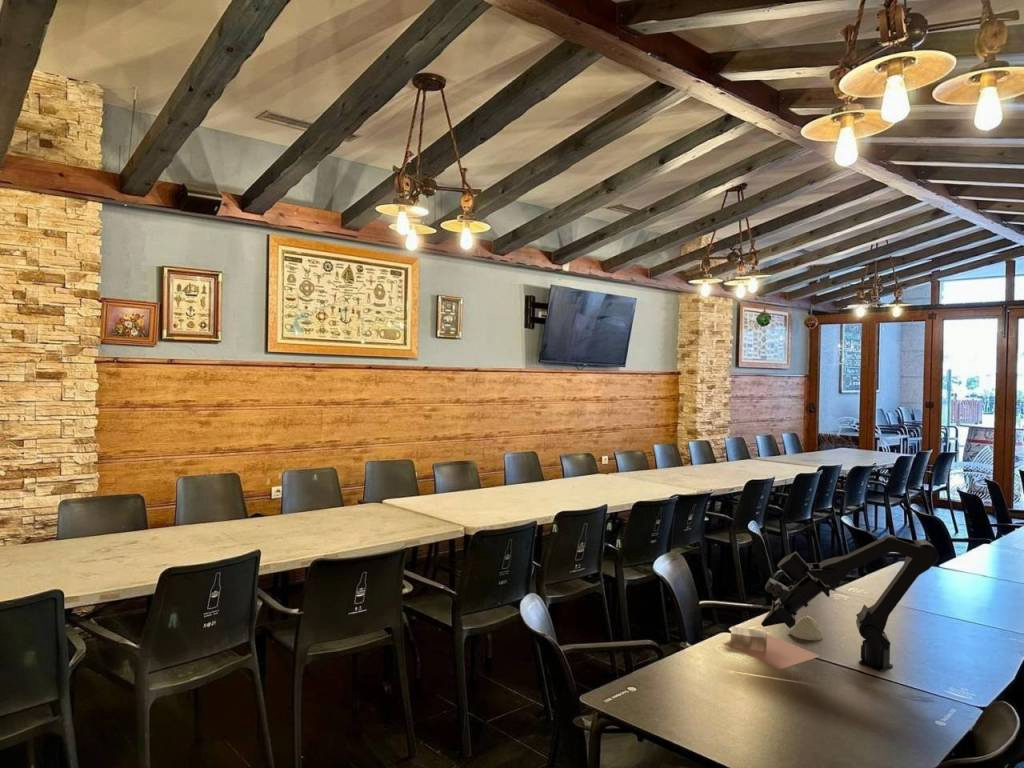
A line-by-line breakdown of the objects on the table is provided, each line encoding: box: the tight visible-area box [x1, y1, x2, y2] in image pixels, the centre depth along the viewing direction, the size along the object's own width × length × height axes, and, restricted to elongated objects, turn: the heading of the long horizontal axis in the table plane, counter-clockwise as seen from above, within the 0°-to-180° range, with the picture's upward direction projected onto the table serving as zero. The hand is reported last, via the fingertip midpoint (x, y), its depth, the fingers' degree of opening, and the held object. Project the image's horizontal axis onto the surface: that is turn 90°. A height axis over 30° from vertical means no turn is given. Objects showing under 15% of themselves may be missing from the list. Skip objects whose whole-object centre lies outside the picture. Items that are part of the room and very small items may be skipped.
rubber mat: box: [724, 634, 821, 670], centre depth 202 cm, size 20×18×1 cm
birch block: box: [730, 626, 768, 652], centre depth 205 cm, size 4×6×10 cm
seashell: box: [788, 615, 824, 641], centre depth 214 cm, size 8×8×8 cm
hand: (762, 625), depth 204 cm, fingers closed
